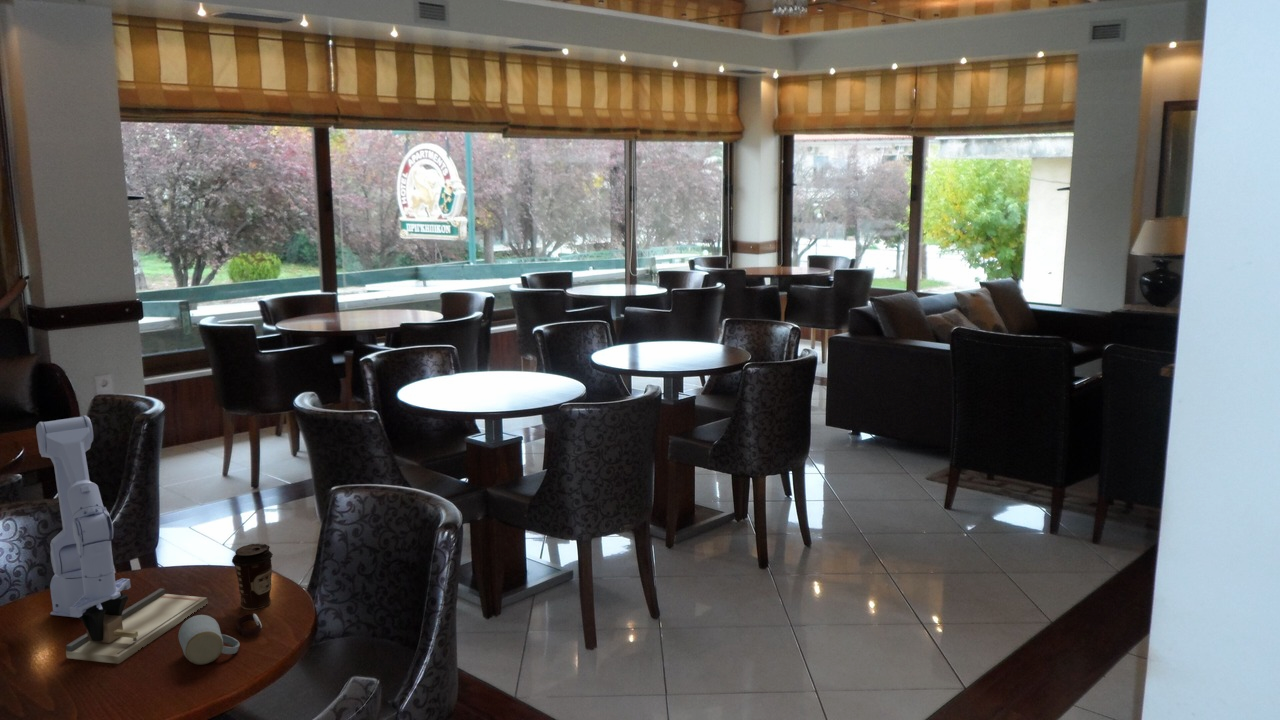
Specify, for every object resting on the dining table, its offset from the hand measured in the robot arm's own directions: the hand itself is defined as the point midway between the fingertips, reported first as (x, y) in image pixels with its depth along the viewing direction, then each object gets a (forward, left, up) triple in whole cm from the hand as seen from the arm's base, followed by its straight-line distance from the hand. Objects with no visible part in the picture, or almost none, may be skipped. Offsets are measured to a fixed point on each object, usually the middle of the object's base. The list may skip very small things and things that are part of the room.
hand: (105, 635), depth 205 cm
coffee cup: (+19, +24, -3) cm, 31 cm away
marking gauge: (+2, 0, -1) cm, 2 cm away
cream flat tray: (+2, +8, -2) cm, 9 cm away
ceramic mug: (+23, +1, -3) cm, 23 cm away
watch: (+25, +12, -3) cm, 28 cm away
